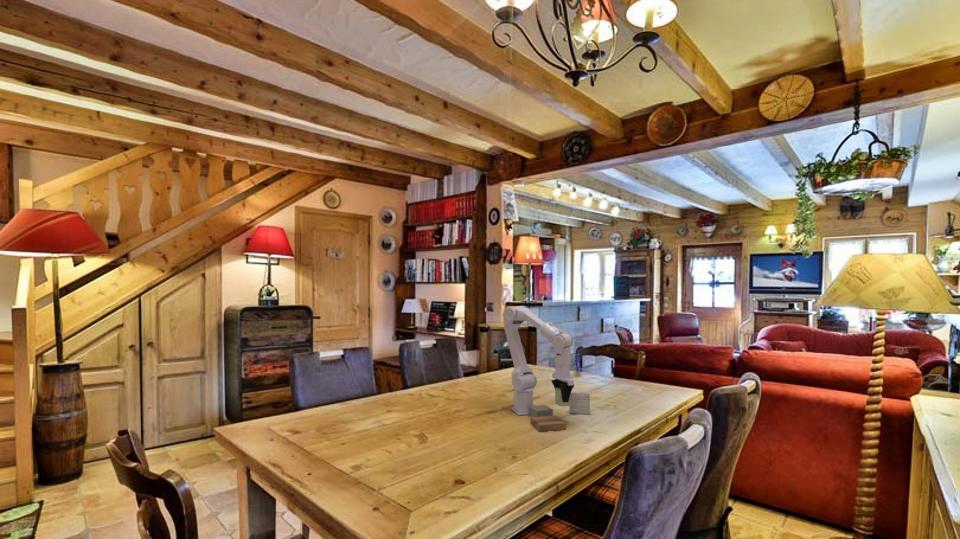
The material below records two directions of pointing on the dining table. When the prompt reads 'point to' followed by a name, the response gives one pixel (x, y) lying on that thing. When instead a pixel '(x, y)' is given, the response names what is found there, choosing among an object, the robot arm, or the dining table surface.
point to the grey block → (540, 411)
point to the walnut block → (548, 423)
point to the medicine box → (580, 402)
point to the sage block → (559, 398)
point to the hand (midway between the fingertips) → (562, 400)
